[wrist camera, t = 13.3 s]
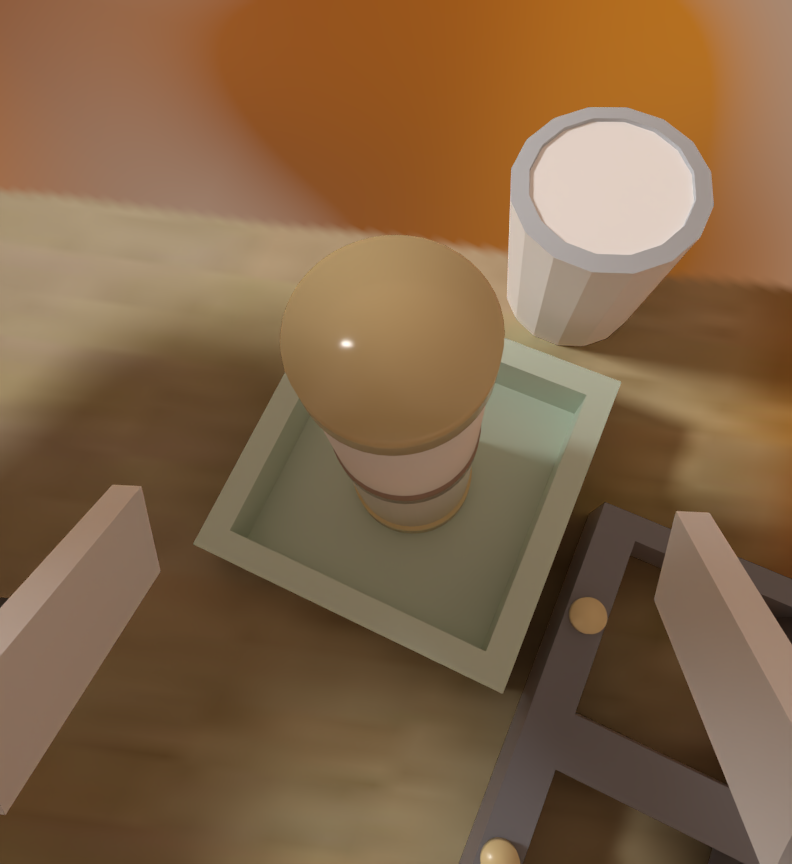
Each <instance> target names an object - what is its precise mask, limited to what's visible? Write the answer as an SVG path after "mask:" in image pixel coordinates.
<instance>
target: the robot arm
mask: <svg viewBox="0 0 792 864" xmlns="http://www.w3.org/2000/svg"><path fill="white" fill-rule="evenodd" d="M160 572H161V571H160V566H159V562H158V558H157V553H156V549H155V544H154V540H153V535H152V531H151V526H150V522H149V517H148V513H147V508H146V504H145V500H144V495H143V491H142V486H130V485H112V486H111V487H110V488H109V489H108V490H107V491H106V492H105V493H104V494H103V496H102V497H101V498H100V499H99V500H98V501H97V502H96V503H95V504H94V505H93V507H92V508H91V509H90V510H89V511H88V512H87V513H86V514H85V515H84V516H83V518H82V519H81V520H80V521H79V522H78V523H77V524H76V525H75V526H74V527H73V528H72V530H71V531H70V532H69V533H68V534H67V535H66V536H65V537H64V538H63V539H62V541H61V542H60V543H59V544H58V545H57V546H56V547H55V548H54V549H53V550H52V552H51V553H50V554H49V555H48V556H47V557H46V558H45V559H44V560H43V561H42V563H41V564H40V565H39V566H38V567H37V568H36V569H35V570H34V571H33V572H32V574H31V575H30V576H29V577H28V578H27V579H26V580H25V581H24V582H23V583H22V585H21V586H20V587H19V588H18V589H17V590H16V591H15V592H14V593H13V594H12V596H11V597H10V598H0V814H1V815H6V814H7V812H8V810H9V809H10V807H11V806H12V804H13V803H14V801H15V799H16V798H17V796H18V795H19V793H20V792H21V790H22V788H23V787H24V785H25V784H26V782H27V781H28V779H29V777H30V776H31V774H32V773H33V771H34V770H35V768H36V766H37V765H38V763H39V762H40V760H41V759H42V757H43V755H44V754H45V752H46V751H47V749H48V748H49V746H50V744H51V743H52V741H53V740H54V738H55V737H56V735H57V733H58V732H59V730H60V729H61V727H62V726H63V724H64V722H65V721H66V719H67V718H68V716H69V715H70V713H71V711H72V710H73V708H74V707H75V705H76V704H77V702H78V700H79V699H80V697H81V696H82V694H83V693H84V691H85V689H86V688H87V686H88V685H89V683H90V682H91V680H92V678H93V677H94V675H95V674H96V672H97V671H98V669H99V667H100V666H101V664H102V663H103V661H104V660H105V658H106V656H107V655H108V653H109V652H110V650H111V649H112V647H113V645H114V644H115V642H116V641H117V639H118V638H119V636H120V634H121V633H122V631H123V630H124V628H125V627H126V625H127V623H128V622H129V620H130V619H131V617H132V616H133V614H134V612H135V611H136V609H137V608H138V606H139V605H140V603H141V601H142V600H143V598H144V597H145V595H146V594H147V592H148V590H149V589H150V587H151V586H152V584H153V583H154V581H155V579H156V578H157V576H158V575H159V573H160ZM654 601H655V604H656V606H657V609H658V611H659V614H660V616H661V619H662V621H663V624H664V626H665V629H666V631H667V634H668V636H669V639H670V641H671V644H672V646H673V649H674V651H675V654H676V656H677V659H678V661H679V664H680V666H681V669H682V671H683V674H684V676H685V679H686V681H687V684H688V686H689V689H690V691H691V694H692V696H693V699H694V701H695V704H696V706H697V709H698V711H699V714H700V716H701V719H702V721H703V724H704V726H705V729H706V731H707V734H708V736H709V739H710V741H711V743H712V746H713V748H714V751H715V753H716V756H717V758H718V761H719V763H720V766H721V768H722V771H723V773H724V776H725V778H726V781H727V783H728V786H729V788H730V791H731V793H732V796H733V798H734V801H735V803H736V806H737V808H738V811H739V813H740V816H741V818H742V821H743V823H744V826H745V828H746V831H747V833H748V836H749V838H750V841H751V843H752V846H753V848H754V851H755V853H756V856H757V858H758V861H759V863H760V864H792V644H791V643H790V641H789V639H788V638H787V636H786V635H785V633H784V631H783V630H782V628H781V627H780V625H779V623H778V622H777V620H776V619H775V617H774V615H773V614H772V612H771V611H770V609H769V607H768V606H767V604H766V603H765V601H764V599H763V598H762V596H761V595H760V593H759V591H758V590H757V588H756V586H755V585H754V583H753V582H752V580H751V578H750V577H749V575H748V574H747V572H746V570H745V569H744V567H743V566H742V564H741V562H740V561H739V559H738V558H737V556H736V554H735V553H734V551H733V550H732V548H731V546H730V545H729V543H728V542H727V540H726V538H725V537H724V535H723V534H722V532H721V530H720V529H719V527H718V526H717V524H716V522H715V521H714V519H713V518H712V516H711V514H710V513H707V512H685V511H676V513H675V517H674V521H673V525H672V529H671V533H670V537H669V541H668V545H667V549H666V553H665V557H664V561H663V565H662V569H661V573H660V577H659V581H658V585H657V589H656V593H655V597H654Z"/></svg>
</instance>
